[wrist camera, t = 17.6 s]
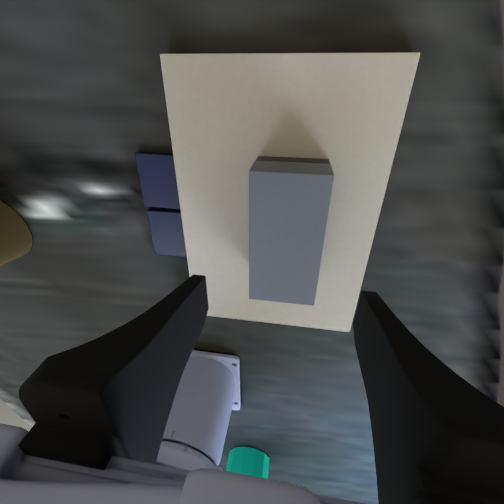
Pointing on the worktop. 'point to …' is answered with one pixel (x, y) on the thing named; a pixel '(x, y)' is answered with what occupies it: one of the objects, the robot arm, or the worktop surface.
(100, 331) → the worktop surface
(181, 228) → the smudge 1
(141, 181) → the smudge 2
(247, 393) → the worktop surface
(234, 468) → the candle
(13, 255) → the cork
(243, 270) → the memo board
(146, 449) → the robot arm
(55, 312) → the worktop surface
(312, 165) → the eraser
